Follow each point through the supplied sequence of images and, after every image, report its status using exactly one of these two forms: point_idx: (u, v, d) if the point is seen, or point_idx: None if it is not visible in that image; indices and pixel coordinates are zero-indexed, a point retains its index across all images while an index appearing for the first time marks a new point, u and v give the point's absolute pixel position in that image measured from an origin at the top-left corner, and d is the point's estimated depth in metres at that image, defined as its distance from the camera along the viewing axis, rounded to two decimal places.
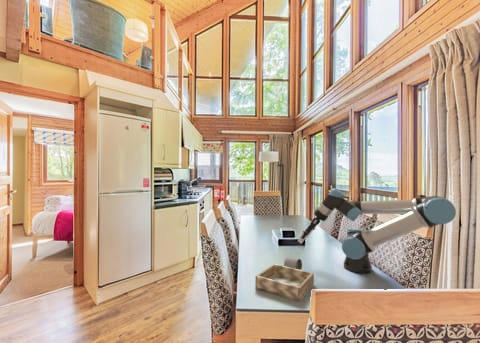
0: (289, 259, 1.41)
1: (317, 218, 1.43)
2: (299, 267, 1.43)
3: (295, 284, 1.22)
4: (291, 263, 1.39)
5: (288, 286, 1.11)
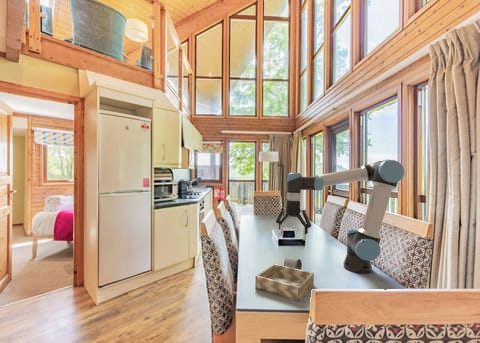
0: (288, 260, 1.41)
1: (299, 207, 1.39)
2: (299, 267, 1.42)
3: (295, 284, 1.22)
4: (291, 263, 1.39)
5: (288, 286, 1.11)
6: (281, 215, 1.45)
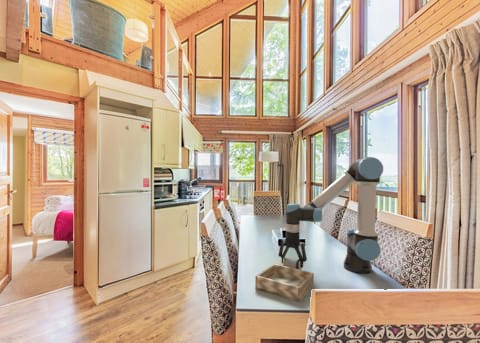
0: (288, 260, 1.41)
1: None
2: None
3: (295, 284, 1.22)
4: (291, 263, 1.38)
5: (288, 286, 1.11)
6: (282, 247, 1.44)
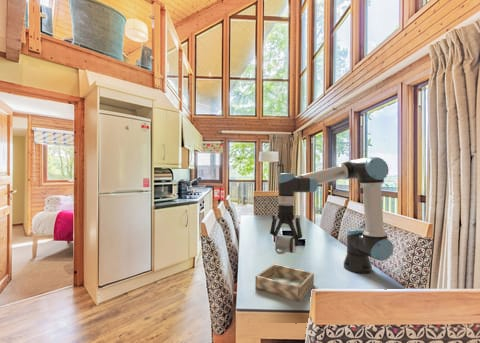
0: (281, 238, 1.22)
1: (293, 214, 1.20)
2: None
3: (295, 284, 1.22)
4: (284, 241, 1.20)
5: (288, 286, 1.11)
6: (274, 224, 1.25)
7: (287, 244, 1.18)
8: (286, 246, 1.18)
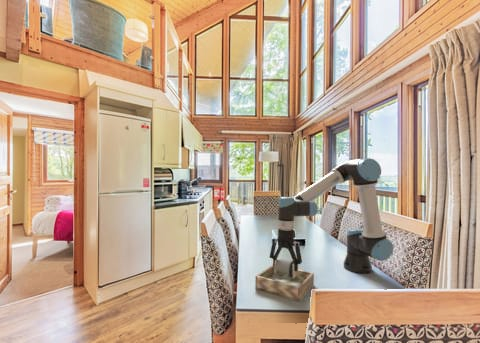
0: (281, 262, 1.22)
1: None
2: None
3: (295, 284, 1.22)
4: (283, 266, 1.19)
5: (288, 286, 1.11)
6: (274, 248, 1.25)
7: (287, 269, 1.18)
8: (286, 271, 1.18)
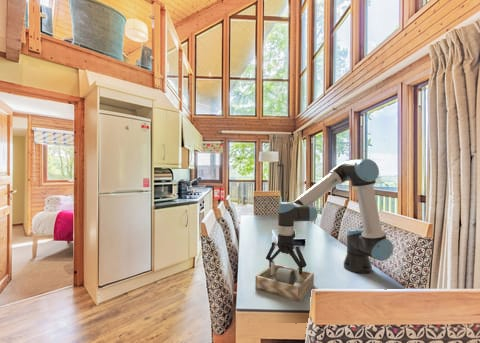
0: (280, 271, 1.22)
1: (292, 243, 1.20)
2: (292, 279, 1.23)
3: (295, 284, 1.22)
4: (283, 275, 1.19)
5: (288, 286, 1.11)
6: (272, 251, 1.25)
7: (287, 279, 1.18)
8: (286, 281, 1.18)
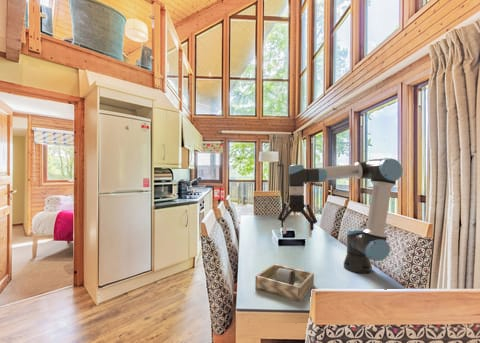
0: (280, 271, 1.21)
1: (303, 202, 1.28)
2: (292, 280, 1.23)
3: (295, 284, 1.22)
4: (283, 276, 1.19)
5: (288, 286, 1.11)
6: (283, 211, 1.33)
7: (286, 279, 1.17)
8: (285, 281, 1.18)
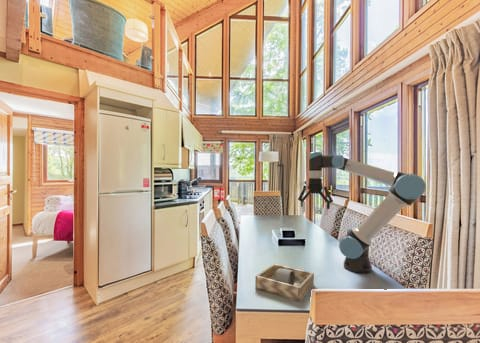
0: (280, 272, 1.21)
1: (321, 185, 1.47)
2: (292, 280, 1.22)
3: (295, 284, 1.22)
4: (283, 276, 1.19)
5: (288, 286, 1.11)
6: (303, 193, 1.53)
7: (286, 279, 1.17)
8: (285, 281, 1.17)
